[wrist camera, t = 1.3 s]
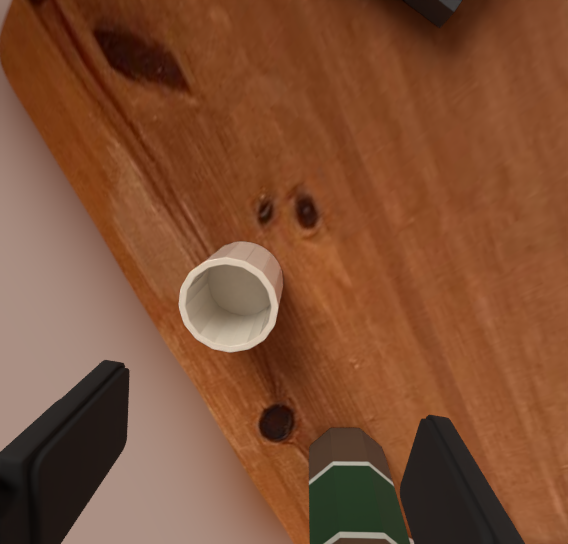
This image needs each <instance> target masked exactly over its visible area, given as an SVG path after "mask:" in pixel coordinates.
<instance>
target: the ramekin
mask: <svg viewBox="0 0 568 544" xmlns="http://www.w3.org/2000/svg"><path fill="white" fill-rule="evenodd" d="M283 284H284V282H283V273H282V270H281V267H280V265H279V263H278V261H277V260H276V258H275V257H274V256H273V255H272V254H271V253H270V252H269V251H268V250H266V249H265V248H263V247H262V246H260V245H257V244H254V243H251V242H234V243H230V244H227V245H225V246H223V247H222V248H220V249H219V250H217V251H216V252H214V253H213V254H212V255H210V256H209V257H208V258H207V259H205V260H204V261H203V262H202V263H200V264H199V265H198V266H197V267H195V268H194V269H193V270H192V271H191V272H190V273H189V274H188V276H187V278H186V279H185V281H184V283H183V284H182V286H181V288H180V297H179V309H180V313H181V316H182V319H183V322H184V325H185V326H186V327H187V329H188V330H189V331H190V332H191V334H192V335H193V336H194V337H195V338H196V339H197V340H198V341H200V342H202V343H203V344H205V345H207V346H208V347H210V348H212V349H215V350H221V351H226V352H236V351H242V350H248V349H251V348H252V347H254V346H255V345H257V344H259V343H260V342H262V341H264V340H265V339H266V337H267V336H268V335H269V333H270V332H271V330H272V329H273V327H274V326H275V323H276V319H277V314H278V309H279V304H280V300H281V295H282V289H283Z"/></svg>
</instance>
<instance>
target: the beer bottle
mask: <svg viewBox="0 0 568 544" xmlns="http://www.w3.org/2000/svg"><path fill="white" fill-rule="evenodd" d="M309 527H310V544H410V541H409V537H408V534H407V530H406V527H405V523H404V520H403V516H402V513H401V509H400V506H399V502H398V499H397V495H396V492H395V488H394V485H393V481H392V478H391V474H390V471H389V467H388V464H387V460H386V458H385V455H384V452H383V450H382V447H381V446H380V445H379V444H378V443H376V442H375V441H374V440H373V439H372V438H370V437H369V436H368V435H367V434H366V433H365V432H363V431H362V430H361V429H360V428H330V429H329V430H328V431H326V432H325V433H324V434H323V435H322V436H321V437H319V438H318V439H317V440H316V441H315V442H314V443H312V444H311V446H310V449H309Z"/></svg>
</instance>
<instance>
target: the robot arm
mask: <svg viewBox="0 0 568 544" xmlns="http://www.w3.org/2000/svg"><path fill="white" fill-rule="evenodd" d="M128 397H129V369H128V368H125V365H124V363H121V362H115V361H109V360H104V361H102V362H101V363H100V364H99V365H98V366H97V367H96V368H95V369H94V370H92V372H90V373H89V374H88V375H87V376H86V377H85V378H83V379H82V380H81V381H80V382H79V383H78V384H77V385H76V386H75V387H74V388H72V389H71V390H70V391H69V392H68V393H67V394H66V395H65V396H64V397H63V398H62V399H60V400H58V401H57V402H55V403H54V404H53V405H52V406H51V407H50V408H49V409H48V410H46V411H45V412H44V413H43V414H42V415H41V416H40V417H39V418H38V419H37V420H35V421H34V422H33V423H32V424H31V425H30V426H29V427H28V428H27V429H25V430H24V431H23V432H22V433H21V434H20V435H19V436H18V437H16V438H15V439H14V440H13V441H12V442H11V443H10V444H9V445H8V446H6V448H4V449H3V450H2V451H1V452H0V544H61V542H62V541H63V539H64V538H65V536H66V535H67V533H68V532H69V530H70V529H71V527H72V526H73V524H74V523H75V521H76V520H77V518H78V517H79V515H80V514H81V512H82V511H83V509H84V508H85V506H86V505H87V503H88V502H89V500H90V499H91V497H92V496H93V494H94V493H95V491H96V490H97V488H98V487H99V485H100V484H101V482H102V481H103V479H104V478H105V476H106V475H107V473H108V472H109V470H110V469H111V467H112V466H113V464H114V463H115V461H116V460H117V458H118V457H119V455H120V454H121V452H122V451H123V449H124V447H125V444H126V440H127V423H128ZM400 498H401V502H402V505H403V508H404V511H405V515H406V518H407V521H408V525H409V528H410V531H411V535H412V538H413V541H414V544H525V543H524V541H523V540H522V538H521V536H520V535H519V533H518V531H517V530H516V528H515V526H514V525H513V523H512V521H511V520H510V518H509V516H508V515H507V513H506V512H505V510H504V508H503V507H502V505H501V503H500V502H499V500H498V498H497V497H496V495H495V493H494V492H493V490H492V488H491V487H490V485H489V483H488V482H487V480H486V478H485V477H484V475H483V473H482V472H481V470H480V469H479V467H478V465H477V464H476V462H475V460H474V459H473V457H472V455H471V454H470V452H469V450H468V449H467V447H466V445H465V444H464V442H463V440H462V439H461V437H460V435H459V434H458V432H457V430H456V429H455V427H454V426H453V424H452V422H451V421H450V419H449V418H446V417H440V416H434V415H428V416H427V417H426V419H421V421H420V424H419V427H418V430H417V433H416V437H415V440H414V443H413V446H412V450H411V453H410V456H409V459H408V463H407V466H406V469H405V472H404V475H403V479H402V482H401V486H400Z"/></svg>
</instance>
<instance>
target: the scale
mask: <svg viewBox="0 0 568 544" xmlns="http://www.w3.org/2000/svg"><path fill="white" fill-rule="evenodd" d="M403 1H405V2H406V3H407V4H409V5H410V6H411V7H413V8H414V9H415V10H416V11H418V12H419V13H420V14H422V15H423V16H424V17H426V18H427V19H428V20H430V21H431V22H432V23H434V24H435V25H436V26H438V27H439V28H440V27H441V26H442V25H443V24H444V23H445V22H446V21H447V20H448V19H449V17H450V16H451V15H452V14H453V13H454V12H455V10H456V9H457V7H458V6H459V4H460V3H461V1H462V0H403Z"/></svg>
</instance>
